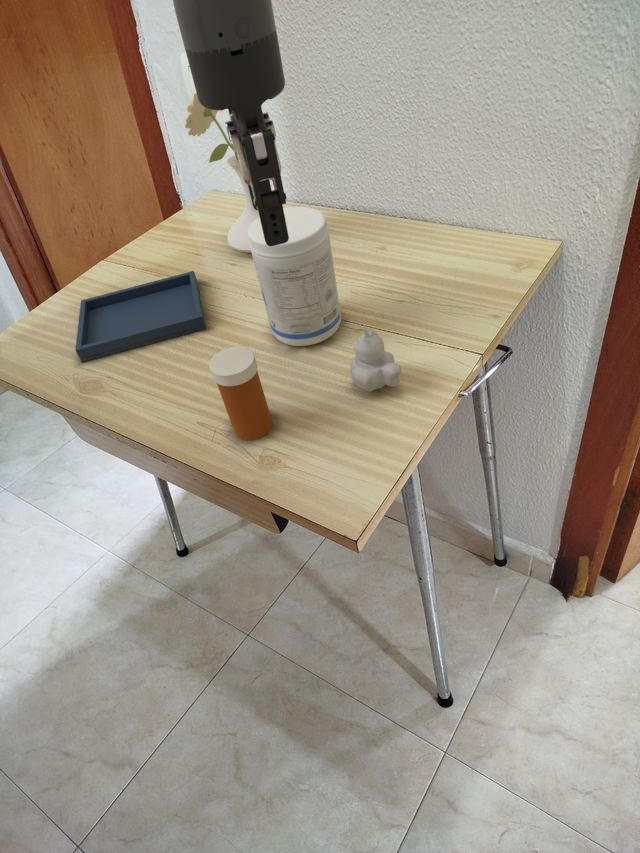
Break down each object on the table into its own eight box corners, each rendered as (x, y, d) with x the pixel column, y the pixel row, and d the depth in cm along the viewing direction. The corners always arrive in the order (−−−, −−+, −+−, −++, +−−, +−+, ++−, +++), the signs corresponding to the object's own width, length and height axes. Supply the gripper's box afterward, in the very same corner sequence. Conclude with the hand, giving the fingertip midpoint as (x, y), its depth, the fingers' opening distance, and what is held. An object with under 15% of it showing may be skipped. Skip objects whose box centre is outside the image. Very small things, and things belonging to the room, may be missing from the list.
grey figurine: (367, 363, 71) (361, 307, 66) (414, 380, 68) (411, 322, 62) (340, 389, 68) (331, 333, 63) (388, 408, 65) (382, 351, 59)
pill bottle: (235, 446, 64) (211, 380, 58) (230, 418, 68) (206, 353, 61) (277, 434, 65) (257, 367, 58) (269, 407, 68) (250, 341, 62)
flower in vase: (270, 220, 104) (234, 58, 86) (311, 237, 97) (280, 65, 79) (209, 251, 99) (157, 87, 81) (247, 271, 92) (200, 96, 74)
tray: (81, 362, 81) (75, 350, 79) (86, 311, 91) (80, 300, 89) (206, 328, 82) (201, 316, 81) (197, 282, 92) (193, 270, 90)
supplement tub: (271, 313, 82) (246, 212, 72) (338, 301, 82) (322, 198, 72) (272, 355, 75) (245, 250, 65) (346, 342, 75) (329, 234, 65)
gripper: (179, 28, 52) (226, 205, 63) (188, 61, 42) (242, 266, 53) (261, 9, 52) (294, 189, 64) (290, 38, 42) (323, 247, 53)
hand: (270, 224), depth 58 cm, fingers open, 8 cm apart
